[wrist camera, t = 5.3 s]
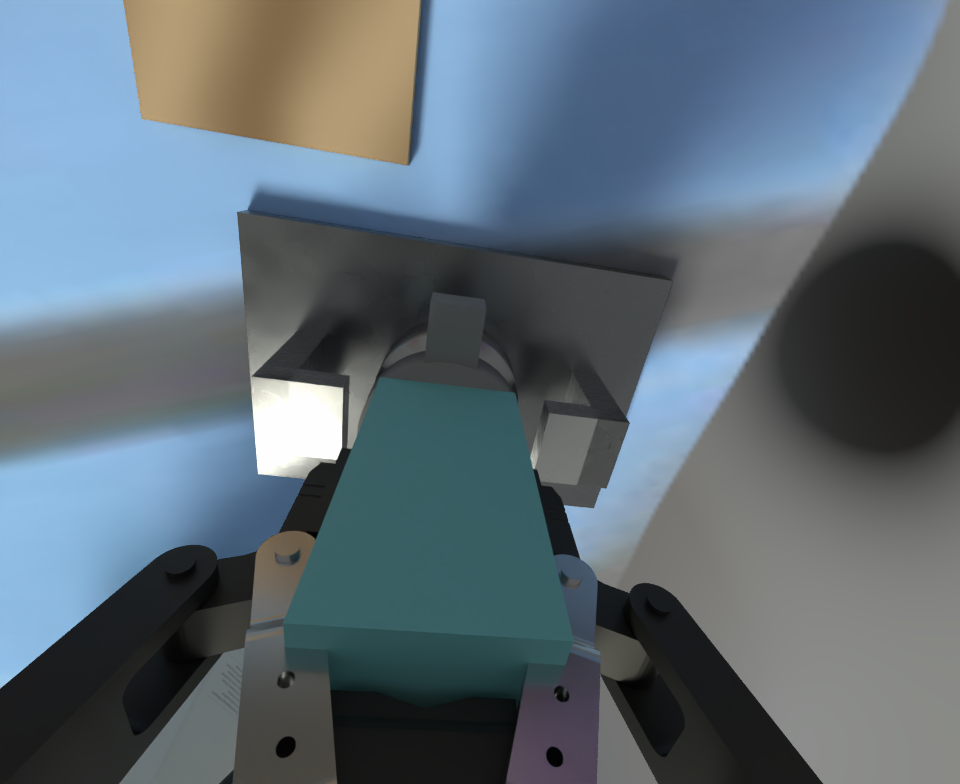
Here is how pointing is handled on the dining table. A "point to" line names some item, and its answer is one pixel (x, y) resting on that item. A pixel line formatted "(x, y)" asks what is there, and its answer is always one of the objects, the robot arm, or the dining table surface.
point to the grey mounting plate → (403, 331)
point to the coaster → (282, 70)
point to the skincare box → (197, 732)
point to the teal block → (435, 535)
